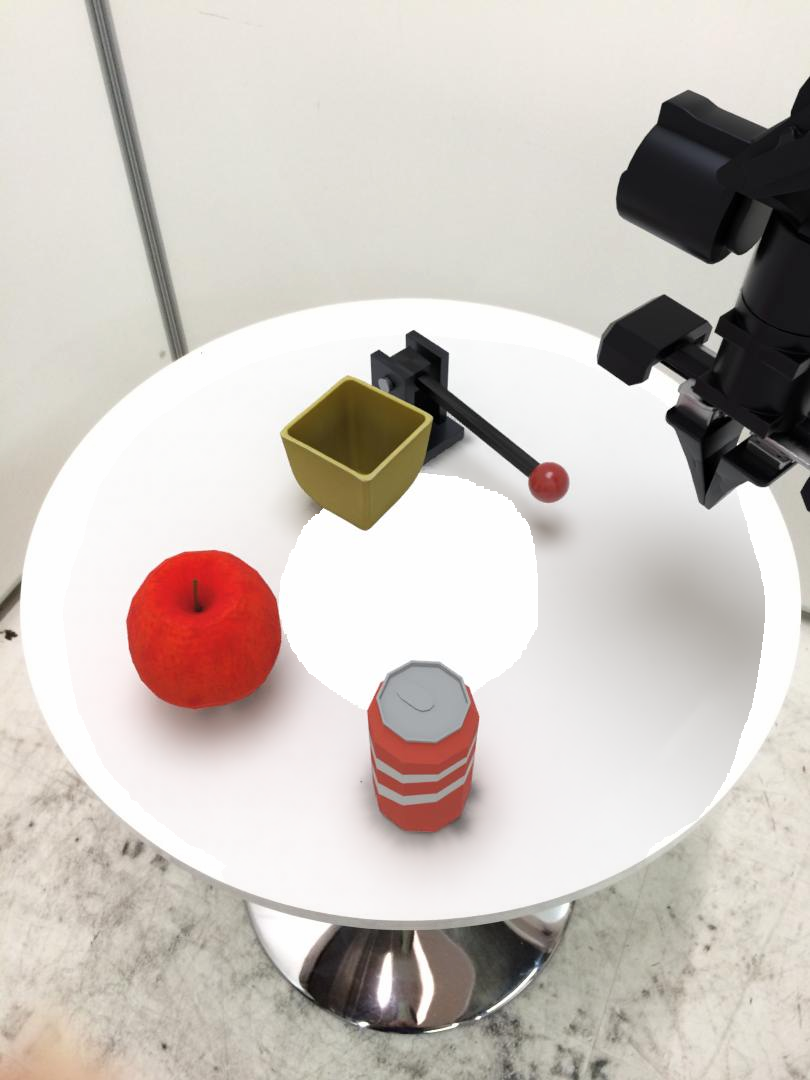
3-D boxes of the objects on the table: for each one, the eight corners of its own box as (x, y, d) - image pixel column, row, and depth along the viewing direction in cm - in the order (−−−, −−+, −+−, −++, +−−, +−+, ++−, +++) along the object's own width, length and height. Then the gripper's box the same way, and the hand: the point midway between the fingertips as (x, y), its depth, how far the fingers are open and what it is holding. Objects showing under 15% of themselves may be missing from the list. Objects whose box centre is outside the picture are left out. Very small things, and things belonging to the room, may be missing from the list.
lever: (573, 497, 69) (582, 471, 66) (546, 518, 68) (554, 492, 65) (411, 367, 76) (413, 339, 74) (384, 383, 75) (385, 355, 72)
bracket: (464, 437, 79) (469, 360, 72) (416, 469, 76) (416, 392, 69) (404, 395, 82) (403, 317, 76) (356, 424, 80) (351, 346, 73)
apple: (186, 771, 58) (142, 677, 49) (130, 665, 63) (82, 562, 54) (315, 699, 62) (298, 598, 52) (252, 604, 67) (227, 497, 58)
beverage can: (413, 729, 60) (413, 633, 51) (487, 785, 57) (502, 694, 48) (354, 794, 57) (343, 704, 48) (430, 856, 54) (434, 773, 45)
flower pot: (434, 493, 74) (436, 414, 67) (372, 558, 70) (367, 481, 63) (353, 451, 78) (347, 372, 71) (289, 511, 73) (276, 432, 66)
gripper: (1057, 331, 43) (906, 530, 55) (745, 173, 51) (675, 375, 64) (939, 431, 38) (803, 623, 50) (619, 239, 47) (570, 443, 59)
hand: (708, 503), depth 56 cm, fingers closed
